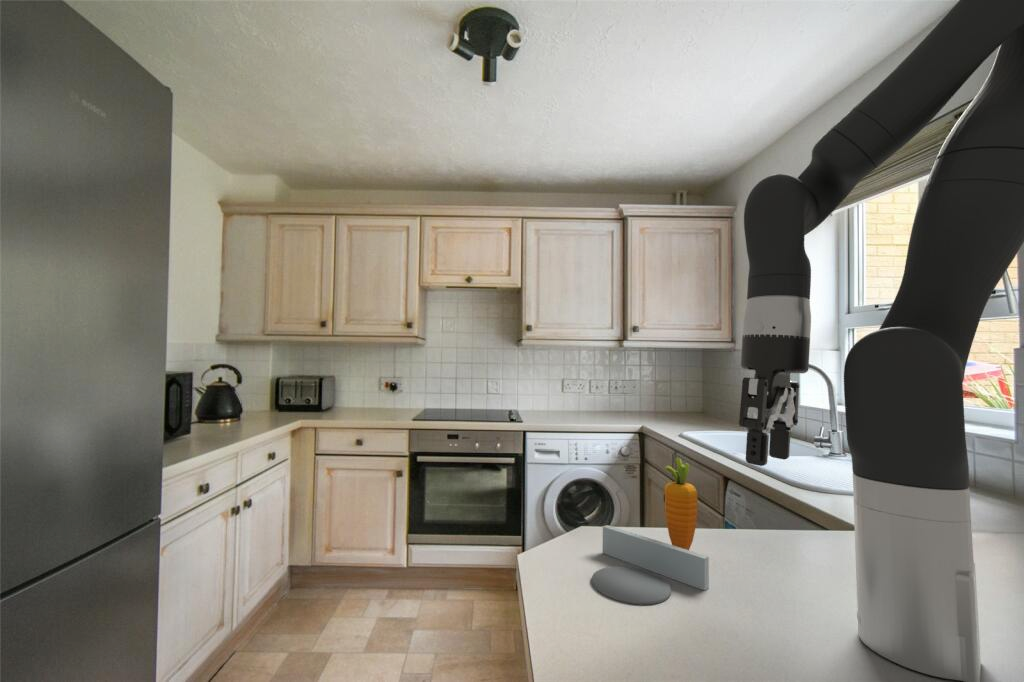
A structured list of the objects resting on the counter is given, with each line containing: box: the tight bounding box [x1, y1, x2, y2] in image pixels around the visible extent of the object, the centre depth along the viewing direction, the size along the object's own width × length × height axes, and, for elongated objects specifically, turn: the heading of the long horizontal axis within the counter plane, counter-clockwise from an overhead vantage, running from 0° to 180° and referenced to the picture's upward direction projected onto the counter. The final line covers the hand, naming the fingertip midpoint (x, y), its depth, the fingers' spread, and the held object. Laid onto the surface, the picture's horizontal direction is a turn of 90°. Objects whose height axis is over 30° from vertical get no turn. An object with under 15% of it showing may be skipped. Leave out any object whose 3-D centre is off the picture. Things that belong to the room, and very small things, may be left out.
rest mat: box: [591, 566, 672, 606], centre depth 58 cm, size 10×10×1 cm
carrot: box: [664, 457, 698, 551], centre depth 69 cm, size 5×5×15 cm
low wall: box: [602, 524, 710, 591], centre depth 64 cm, size 16×1×4 cm, turn 43°
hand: (768, 461), depth 57 cm, fingers open, 8 cm apart
